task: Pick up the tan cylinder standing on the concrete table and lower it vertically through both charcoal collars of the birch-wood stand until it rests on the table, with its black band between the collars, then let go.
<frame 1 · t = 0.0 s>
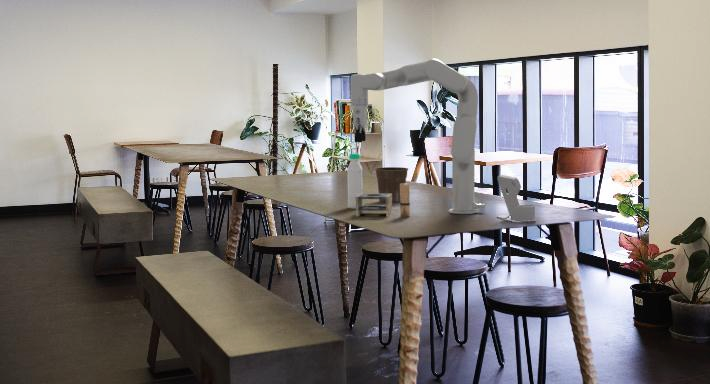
hand: (360, 141, 368), 31 cm above the table, tool pointing down, fingers open, 9 cm apart
plant pot: (392, 201, 407), on the table
tan cylinder: (405, 216, 354), on the table
water bottle: (355, 208, 386), on the table
collar stand: (374, 214, 362), on the table
phone holder: (515, 220, 341), on the table
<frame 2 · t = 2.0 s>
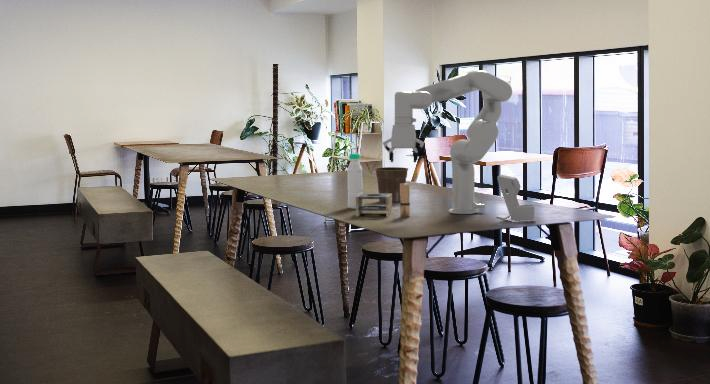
hand: (403, 162, 351), 23 cm above the table, tool pointing down, fingers open, 9 cm apart
nothing on the table moved.
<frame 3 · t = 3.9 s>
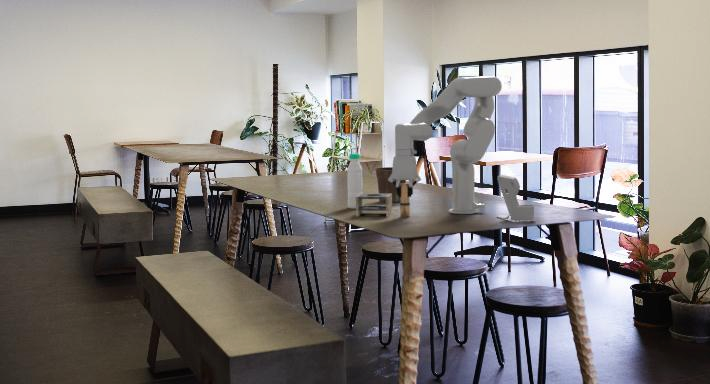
hand: (404, 196, 353), 9 cm above the table, tool pointing down, fingers closed on tan cylinder, 4 cm apart
tan cylinder: (405, 216, 354), on the table, touching gripper
everything else where it was.
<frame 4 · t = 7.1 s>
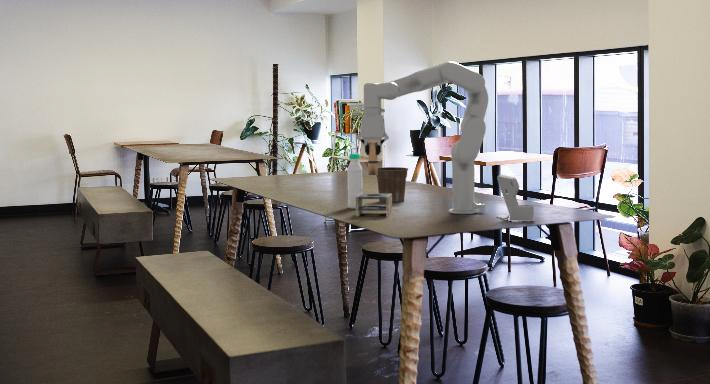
hand: (372, 154, 359), 26 cm above the table, tool pointing down, fingers closed on tan cylinder, 4 cm apart
tan cylinder: (373, 174, 360), point 17 cm above the table, touching gripper
everything else where it was.
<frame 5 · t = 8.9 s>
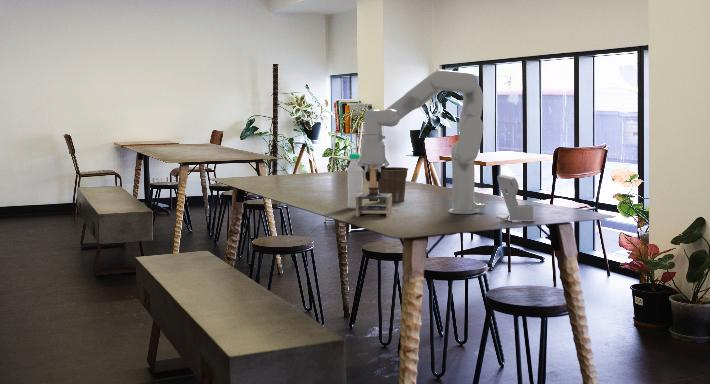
hand: (373, 180, 361), 15 cm above the table, tool pointing down, fingers closed on tan cylinder, 4 cm apart
tan cylinder: (373, 200, 362), point 6 cm above the table, touching gripper
everything else where it was.
when the fingers open (10 cm above the table, at t = 10.2 s): tan cylinder drops 1 cm, on the table.
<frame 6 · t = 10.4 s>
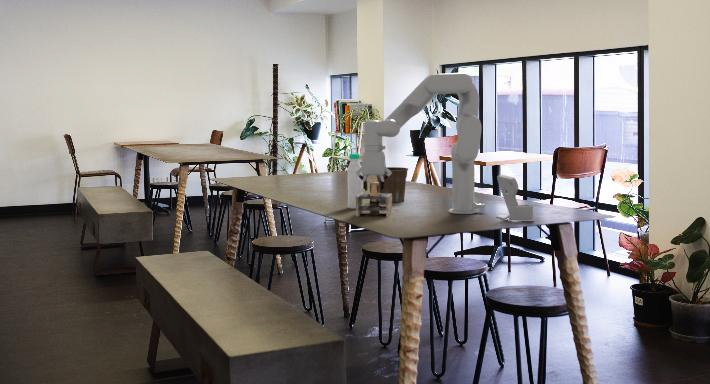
hand: (374, 190, 361), 11 cm above the table, tool pointing down, fingers open, 6 cm apart
tan cylinder: (374, 214, 362), on the table
everything else where it was.
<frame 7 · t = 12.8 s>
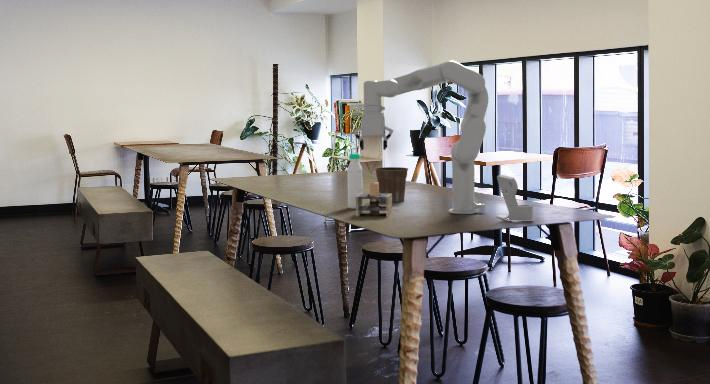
hand: (373, 149, 359), 28 cm above the table, tool pointing down, fingers open, 9 cm apart
nothing on the table moved.
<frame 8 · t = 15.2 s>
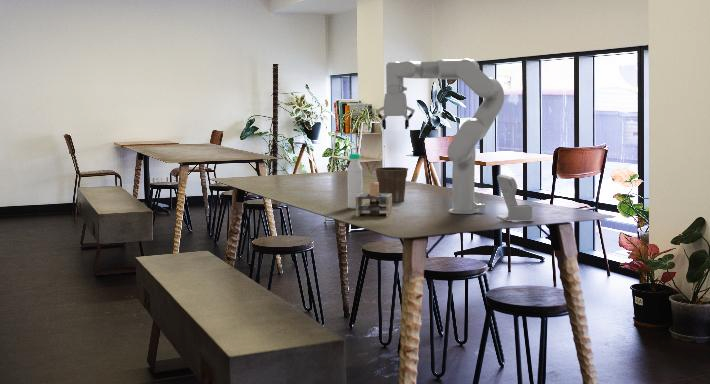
hand: (395, 129, 371), 36 cm above the table, tool pointing down, fingers open, 9 cm apart
nothing on the table moved.
at the end: tan cylinder 0.1 cm off-centre on the collar stand, point 0.0 cm above the collar stand's base; tan cylinder tilted 0°; the gripper is holding nothing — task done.
